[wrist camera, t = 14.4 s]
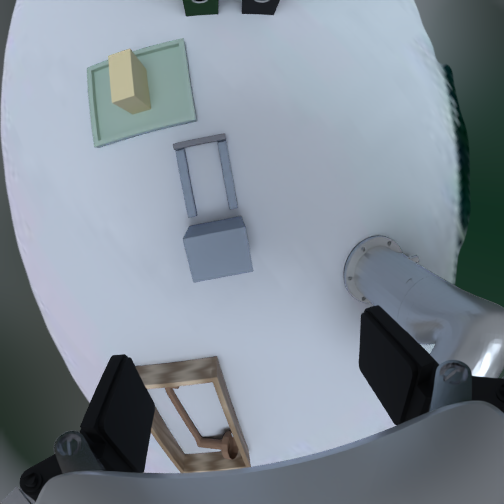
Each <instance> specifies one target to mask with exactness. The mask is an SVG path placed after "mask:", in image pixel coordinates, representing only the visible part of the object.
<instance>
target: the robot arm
mask: <svg viewBox="0 0 504 504" xmlns="http://www.w3.org/2000/svg"><path fill="white" fill-rule="evenodd" d="M418 262H419V257H418V256H417V255H415V256H412V257H408V256H406V255H404V254H403V252H402V250H401V248H400V246H399V245H398V244H397V243H396V242H395V241H393V240H392V239H390V238H388V237H384V236H374V237H370V238H368V239H365V240H364V241H362V242H361V243H360V244H359V245H357V246H356V247H355V249H354V250H353V251H352V252H351V254H350V256H349V258H348V259H347V262H346V265H345V270H344V281H345V286H346V288H347V290H348V292H349V293H350V294H351V295H352V296H353V297H354V298H355V299H356V300H358V301H360V302H364V303H372V304H373V305H374V306H373V307H370V308H366V309H365V311H364V313H362V314H361V330H360V352H359V368H360V370H361V372H362V374H363V375H364V377H365V378H366V380H367V382H368V383H369V385H370V386H371V388H372V389H373V391H374V392H375V394H376V396H377V397H378V399H379V400H380V402H381V403H382V405H383V407H384V408H385V410H386V411H387V413H388V415H389V416H390V418H391V419H392V421H393V423H394V424H395V425H397V426H395V427H392V428H390V429H387V430H385V431H382V432H379V433H377V434H374V435H371V436H369V437H366V438H363V439H361V440H358V441H355V442H352V443H349V444H346V445H343V446H340V447H336V448H333V449H330V450H326V451H323V452H319V453H315V454H312V455H308V456H304V457H299V458H295V459H291V460H286V461H281V462H276V463H271V464H266V465H260V466H253V467H247V468H239V469H231V470H222V471H211V472H196V473H143V472H144V469H145V463H146V456H147V451H148V445H149V439H150V434H151V428H152V423H153V418H154V413H155V405H154V402H153V400H152V398H151V396H150V394H149V393H148V391H147V389H146V387H145V385H144V383H143V381H142V379H141V377H140V375H139V373H138V371H137V369H136V367H135V365H134V363H133V361H132V359H131V358H130V357H127V356H126V355H125V354H123V355H113V356H112V357H111V358H110V360H109V362H108V364H107V367H106V369H105V371H104V373H103V375H102V377H101V379H100V382H99V384H98V386H97V388H96V390H95V393H94V395H93V397H92V400H91V402H90V404H89V407H88V409H87V411H86V414H85V416H84V419H83V421H82V423H81V426H80V427H81V430H80V433H79V432H78V431H68V432H65V433H63V434H61V435H60V436H59V437H58V438H57V439H56V441H55V443H54V452H55V454H54V455H52V456H51V457H49V458H47V459H45V460H44V461H42V462H40V463H38V464H36V465H34V466H33V467H31V468H29V469H27V470H26V471H25V472H24V473H23V474H22V476H21V478H20V487H21V488H20V489H19V488H18V487H16V488H15V489H14V490H13V491H12V492H11V493H9V495H7V497H5V498H4V499H3V500H2V501H1V502H0V504H504V377H503V378H502V379H500V378H498V376H499V375H500V373H501V372H502V370H503V368H504V308H503V307H501V306H499V305H497V304H495V303H493V302H490V301H488V300H485V299H483V298H480V297H478V296H475V295H473V294H471V293H468V292H466V291H464V290H462V289H460V288H458V287H456V286H455V285H453V284H451V283H449V282H448V281H446V280H444V279H443V278H441V277H439V276H437V275H436V274H434V273H432V272H431V271H429V270H427V269H426V268H424V267H422V266H421V265H419V264H417V263H418ZM420 344H426V345H427V344H435V346H434V348H433V349H432V351H431V353H430V354H429V353H428V352H427V351H426V350H425V349H424V348H423V347H422V346H421V345H420Z"/></svg>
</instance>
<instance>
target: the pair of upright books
mask: <svg viewBox="0 0 504 504" xmlns="http://www.w3.org/2000/svg"><path fill="white" fill-rule="evenodd" d="M279 1H280V0H265V1H258V0H242V14H264V15H274V13H275V11H276V8H277V6H278V3H279ZM183 4H184V9H185V13H186V16H196V15H211V14H218V0H205V1H201V2H198V1H194V0H183Z"/></svg>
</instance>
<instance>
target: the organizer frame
mask: <svg viewBox="0 0 504 504" xmlns="http://www.w3.org/2000/svg"><path fill="white" fill-rule="evenodd" d="M135 367H136V369H137V371H138V373H139V375H140V377H141V379H142V381H143V383H144V385H145V387H146V389H154V388H166V387H177V386H186V385H194V384H202V383H210V382H213V384H214V387H215V389H216V392H217V395H218V398H219V400H220V403H221V406H222V408H223V411H224V414H225V416H226V419H227V421H228V424H229V427H230V429H231V432H232V434H233V437H234V439H235V441H236V444H237V446H238V449H239V450H238V454H237V456H236V458H235V459H233V460H229V459H225V458H224V457H223V454H222V451H221V452H211V453H199V454H184V453H183V451H182V450H181V448H180V447H179V445H178V443H177V442H176V440H175V439H174V437H173V436H172V434H171V433H170V431H169V429H168V428H167V426H166V424H165V423H164V421H163V419H162V418H161V416H160V414H159V413H158V411H157V409H156V407H155V413H154V418H153V423H152V428H151V433H152V435H153V436H154V438H155V439H156V440H157V442H158V443H159V445H160V446H161V447H162V449H163V450H164V452H165V453H166V454H167V456H168V457H169V458H170V460H171V461H172V462H173V463H174V465H175V466H176V467H177V469H178V470H179V471H180V472H181V473H196V472H211V471H222V470H231V469H239V468H247V467H251V465H250V458H249V450H248V447H247V445H246V442H245V439H244V436H243V434H242V431H241V428H240V425H239V422H238V420H237V417H236V414H235V411H234V408H233V405H232V402H231V399H230V396H229V393H228V390H227V387H226V384H225V381H224V377H223V374H222V371H221V368H220V365H219V361H218V358H217V356H215V357H209V358H202V359H195V360H188V361H180V362H172V363H164V364H155V365H144V366H135Z"/></svg>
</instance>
